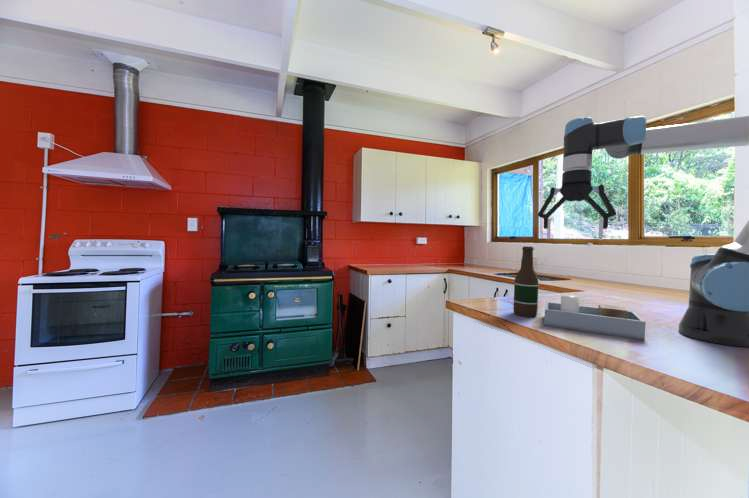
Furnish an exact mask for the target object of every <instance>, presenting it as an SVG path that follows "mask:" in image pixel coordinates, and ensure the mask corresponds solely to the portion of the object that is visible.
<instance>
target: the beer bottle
mask: <svg viewBox="0 0 749 498" xmlns="http://www.w3.org/2000/svg"><path fill="white" fill-rule="evenodd" d="M521 250H522V255H521V265H520V269H519V271H518V272H517V273H516V275H515V278H514V290H513V314H514V315H516V316H518V317H524V318H536V316H537V315H538V307H539V306H538V303H539V302H538V301H539V278H538V274H537V272H536V271H535V270H534V250H535V249H534V247H533V246H523V247H522V249H521Z"/></svg>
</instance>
